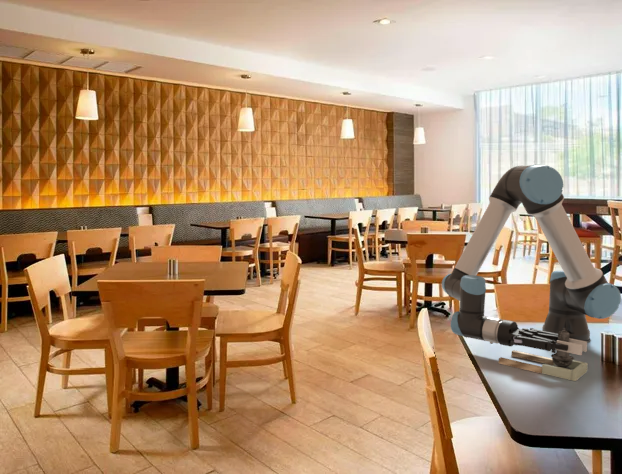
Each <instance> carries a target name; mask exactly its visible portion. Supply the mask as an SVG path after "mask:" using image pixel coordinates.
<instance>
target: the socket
mask: <svg viewBox="0 0 622 474" xmlns="http://www.w3.org/2000/svg"><path fill="white" fill-rule="evenodd" d="M541 364H542V365H541V367H542V374H544V375H549V376H552V377H556V378H560V379H564V380H569V381H573V382H576V381H578V380H580V378H581V377H583V376H584V375H585V374H586V373H587V372H588V365H589V363H588V362H585V361H579V360H575V359H574V360H573V362H572V364H571V365H570V366H567V367H569V368H571V369H572V370H570V369H566V368H561V367H557V366H554V365H556V364H555V363H554V362H553V365H549V364H545V363H541Z"/></svg>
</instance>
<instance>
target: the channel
mask: <svg viewBox="0 0 622 474" xmlns="http://www.w3.org/2000/svg"><path fill="white" fill-rule="evenodd" d="M511 357H515V358H519V359H524V360H527V361H533V362H537V363H540V364H548V365H552V366H554V365H553V360H552V357H551V358H550V357H547V356H543V355H538V354H534V353H533V354H532V353H528V352H523V351H520V350H519V351H518V350H515V349H513V350H511ZM499 364H500V365H503V366H509V367H512V368H517V369H520V370H525V371H530V372H534V373H537V374H541V375H542V374H543V373H542V365H541V366H540V365H536V364H532V363H528V362H524V361H520V360H515V359H510V358H506V357H502V356H500V357H499V358H498V365H499Z"/></svg>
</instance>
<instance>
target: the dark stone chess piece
mask: <svg viewBox="0 0 622 474" xmlns="http://www.w3.org/2000/svg"><path fill="white" fill-rule="evenodd" d="M558 340H560V341H565V342H569V332H567V331H565V328H563V330H562V331H560V332H559V333H558ZM556 343H557V342H556ZM550 356H551V358H552V360H553V362H554V363H555V364H556V365H553V366H557V367H561V368H566V369H570V370H572V369H571V368H569V367H567V366H570V365H571V364H572V362H573V360H575V358H574V356H572V355H570V353H568V352H563V351H558V350H555V353H552V354H551V355H550Z"/></svg>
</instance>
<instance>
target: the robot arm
mask: <svg viewBox="0 0 622 474" xmlns="http://www.w3.org/2000/svg"><path fill="white" fill-rule="evenodd" d="M563 188H564V180H563V177H562V175H561V174H560V172H558V170H557V169H555V168H554V167H552V166H549V165H545V164H533V165H532V164H531V165H517V166H513V167H512V168H510V169H508V170H507V171H506V172H505V173H504V174H503V175H502V176H501V177H500V178H499V180H498V182H497V183H496V184H495V186H494V188H493V190H492V192H491V193H490V196H489V197H488V200H489V204H488V206H487V207H486V209H485V211H484V213H483V215H482V216H481V218H480V220H479V222H478V224H477V226H476V227H475V230H474V232H473V233H472V234H471V237H470V238H469V240H468V242H467V244H466V246H465V248H464V250H463V252H462V253H461V254H460V257H459V259H458V260H457V263H456V264H455V267H454V268H453V270H452V271H451V273H448V274H447V275H445V276H444V277H443V278H442V280H441V288H442V290H443V292H444V293H445V294H447V295H448V296H449V297H451V298H454V299H456V300H457V301H459V311H454V312H453V314H452V316H451V320H450V330H451V331H452V333H453V334H455V335H457V336H461V337H464V338H466V339H467V338H468V339H474V340H481V341H484V342H488V343H489V344H491V345H492V344H500V345H501V346H502V345H503V346H506V347H514V346H521V347H526V348H531V349H536V350H542V351H547V352H551V353H552V354H555V353H556V351H557V350H558V351H563V352H568V353H569V354H572V355H578V356H582V355H583V352H585V353H587V351H588V350H587V349H588V341H589V340H590V337H591V332H590V329H589V325H588V321H587V317H586V316H588V317H589V318H595V319H599V320H602V319H604V320H605V319H607V318H609V317H611V316H612V315H614V314H615V313H616V312H617V311H618V309H619V307H620V305H621V302H622V295H621V291H620V290H619V288H618V287H617V286H616V285H614V284H613V283H610V282H608V280H607V278H606V277H605V275H604V273H603V271H602V269H600V268H596V267H594V265H593V263H592V261H591V259H590V257H589V255H588V253H587V251H586V249H585V247H584V245H583V244H582V241H581V239H580V238H579V235H578V233H577V232H576V230H575V227H574V226H573V224H572V222H571V220H570V218H569V215H568V214H567V212H566V210H565V208H564V206H563V202H564V200H565V196H564V193H563ZM520 205H522V206H523V208H524V210H525V212H526V213H527V215H529V216H532V217H534V218H535V220H536V222H537V224H538V225H539V228H540V229H541V232H542V233H543V234H544V237H545V239H546V241H547V243H548V244H549V247H550V248H551V251H552V252H553V254H554V256H555V258H556V259H557V261H558V264H559V266H560V267H561V270H555V271H551V274H550V279H549V299H548V300H549V302H548V313H547V315H546V318H545V320H544V324H543V325H542V328H541V329H537V328H535V327H534V328H533V327H530V328H529V329H528V328H524V327H522V328H521V329H520V328H519V326H518V323H517V322H516V321H512V320H508V319H502V318H498V317H497V318H496V317H492V316H486V315H485V304H486V303H485V301H486V291H487V287H486V279H485V277H483V276H481V275H478V274H479V271H480V269H481V268H482V266H483V265H484V262H485V261H486V259H487V257H488V255H489V253H490V252H491V250H492V248H493V246H494V244H495V242H496V241H497V239H498V237H499V235H500V234H501V233H502V232H501V231H503V229H504V227H505V225H506V223H507V222H508V219H509V218H510V216H511V214H512V213H515V212H516V211H517V210H518V207H519V206H520ZM563 328H565V331H567V332H569V342H565V341H560V340H558V333H559V332H560V331H562V330H563ZM556 342H557V343H556Z"/></svg>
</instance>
